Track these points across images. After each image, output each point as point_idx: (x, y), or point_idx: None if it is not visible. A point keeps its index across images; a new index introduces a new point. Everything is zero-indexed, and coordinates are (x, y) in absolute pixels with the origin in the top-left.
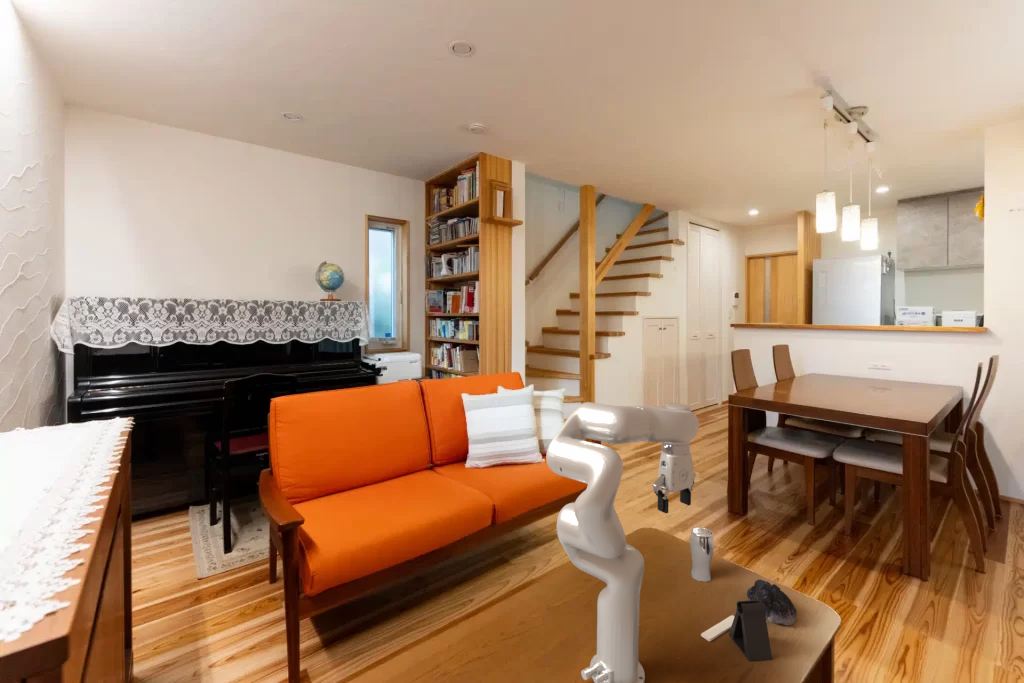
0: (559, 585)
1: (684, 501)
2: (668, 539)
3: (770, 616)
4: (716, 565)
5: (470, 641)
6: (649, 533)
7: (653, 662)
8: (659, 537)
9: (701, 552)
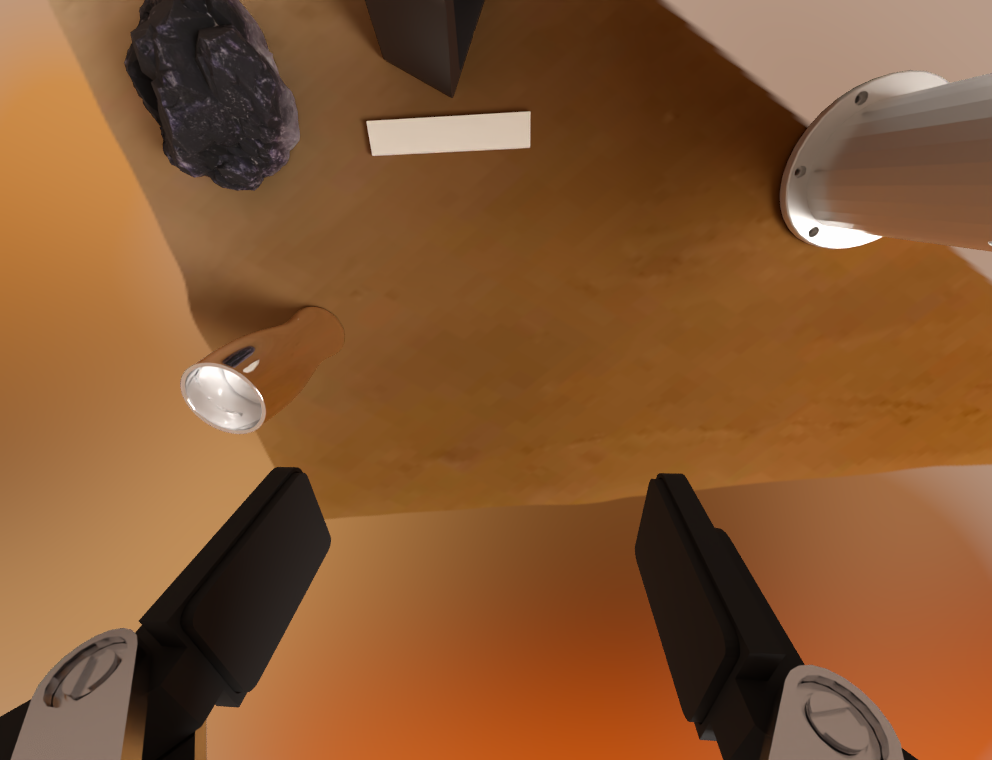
0: None
1: (306, 526)
2: None
3: (263, 55)
4: None
5: (977, 434)
6: None
7: (741, 145)
8: None
9: (288, 350)
